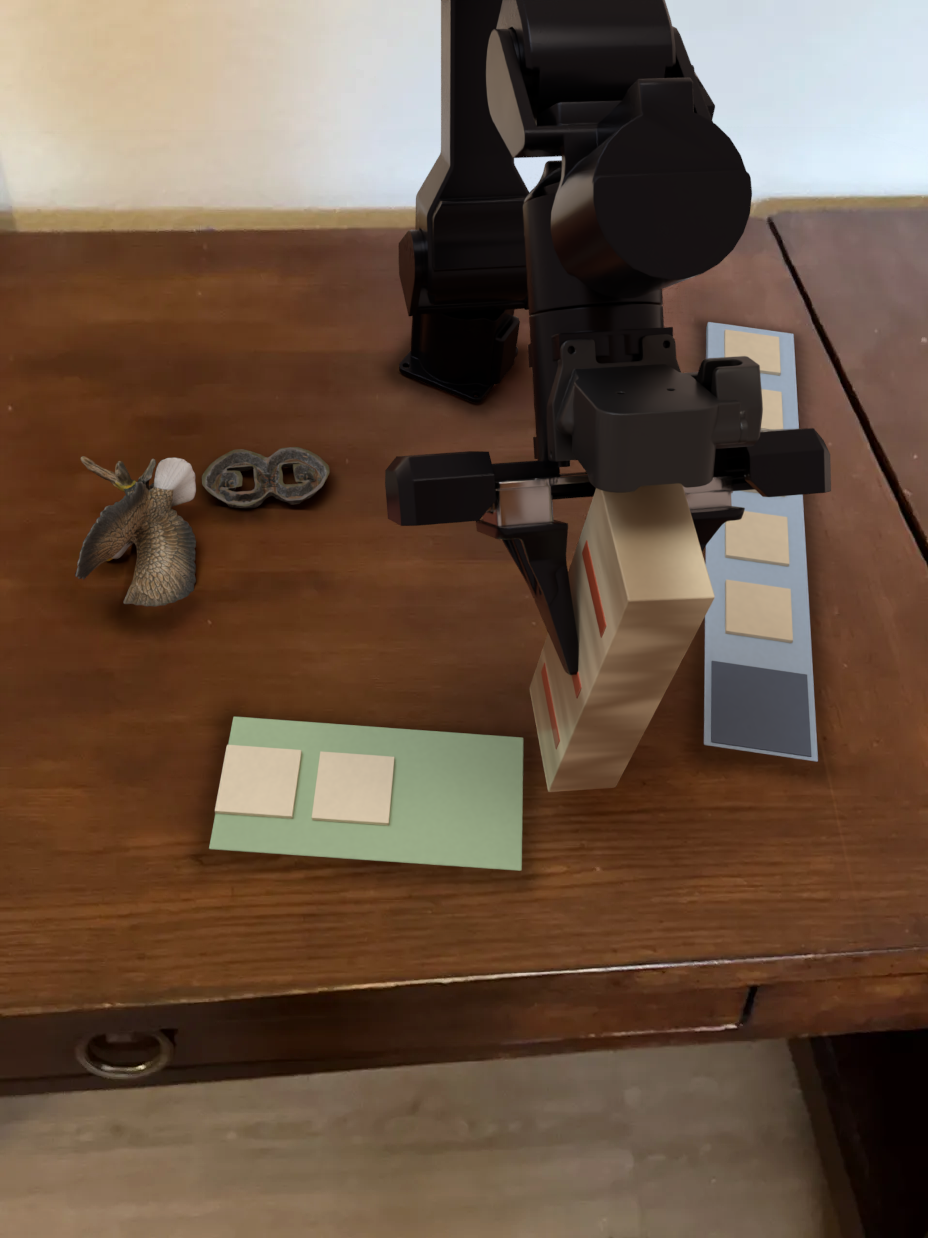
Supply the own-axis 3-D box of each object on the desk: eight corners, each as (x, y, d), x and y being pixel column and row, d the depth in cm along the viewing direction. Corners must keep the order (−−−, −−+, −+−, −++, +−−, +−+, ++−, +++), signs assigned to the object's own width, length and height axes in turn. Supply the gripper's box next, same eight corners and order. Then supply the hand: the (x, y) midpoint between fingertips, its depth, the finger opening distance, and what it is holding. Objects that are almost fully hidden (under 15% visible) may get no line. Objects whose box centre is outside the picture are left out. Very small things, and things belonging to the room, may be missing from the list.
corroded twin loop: (333, 509, 77) (333, 498, 76) (205, 519, 75) (203, 508, 74) (325, 452, 80) (325, 441, 79) (201, 461, 78) (199, 450, 77)
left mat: (209, 854, 62) (208, 846, 61) (234, 721, 67) (232, 713, 66) (520, 875, 63) (522, 868, 62) (522, 742, 67) (524, 734, 67)
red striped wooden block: (546, 793, 60) (627, 601, 46) (527, 687, 63) (597, 478, 49) (616, 788, 61) (717, 597, 47) (594, 684, 64) (682, 476, 50)
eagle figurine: (53, 505, 74) (48, 602, 67) (102, 415, 70) (102, 508, 64) (169, 547, 78) (175, 642, 71) (221, 464, 74) (232, 556, 68)
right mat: (815, 766, 68) (820, 758, 67) (701, 750, 68) (705, 741, 67) (791, 339, 90) (794, 330, 90) (706, 327, 90) (708, 317, 90)
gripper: (401, 301, 43) (433, 733, 45) (894, 276, 45) (900, 683, 48) (371, 330, 53) (398, 677, 56) (771, 308, 56) (780, 639, 59)
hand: (613, 669), depth 54 cm, fingers closed on red striped wooden block, 3 cm apart
